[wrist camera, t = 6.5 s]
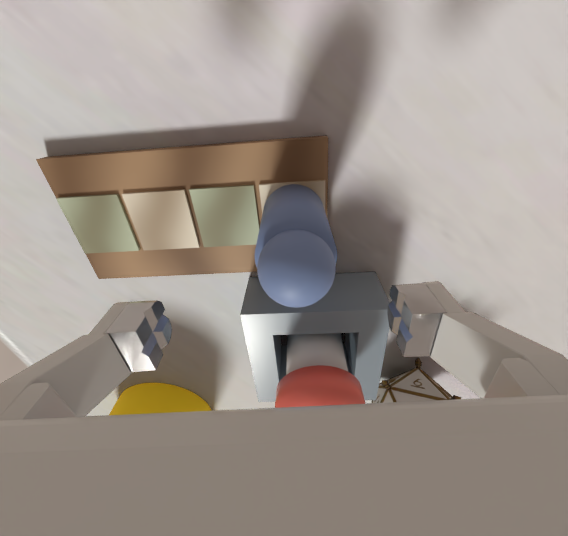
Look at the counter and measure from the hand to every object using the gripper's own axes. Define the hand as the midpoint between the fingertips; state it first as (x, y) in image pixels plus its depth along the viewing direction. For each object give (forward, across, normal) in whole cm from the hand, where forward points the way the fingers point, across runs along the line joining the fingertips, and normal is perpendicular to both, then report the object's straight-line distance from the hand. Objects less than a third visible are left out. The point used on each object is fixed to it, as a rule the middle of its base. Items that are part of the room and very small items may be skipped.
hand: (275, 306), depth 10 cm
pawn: (+8, -1, 0) cm, 8 cm away
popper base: (+9, -2, +9) cm, 13 cm away
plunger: (+8, -2, +9) cm, 12 cm away
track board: (+9, +5, 0) cm, 10 cm away
